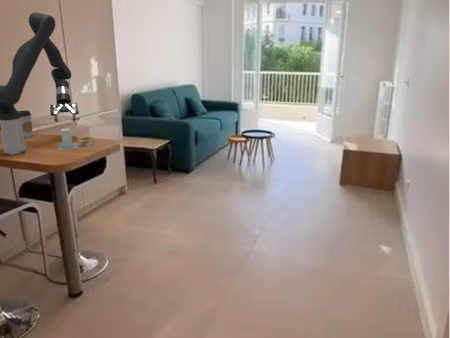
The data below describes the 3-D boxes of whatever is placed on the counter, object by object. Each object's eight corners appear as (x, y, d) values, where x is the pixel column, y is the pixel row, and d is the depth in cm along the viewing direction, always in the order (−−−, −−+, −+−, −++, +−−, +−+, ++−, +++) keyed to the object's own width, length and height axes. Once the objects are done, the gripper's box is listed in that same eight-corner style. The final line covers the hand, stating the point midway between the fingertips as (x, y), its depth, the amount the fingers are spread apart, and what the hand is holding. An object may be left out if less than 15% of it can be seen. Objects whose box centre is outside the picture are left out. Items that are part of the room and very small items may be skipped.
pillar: (63, 147, 193) (60, 130, 191) (63, 145, 197) (61, 129, 195) (72, 146, 195) (70, 130, 192) (72, 144, 199) (70, 128, 196)
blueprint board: (58, 151, 190) (58, 149, 189) (59, 145, 200) (59, 144, 200) (95, 148, 195) (95, 146, 195) (94, 142, 206) (94, 141, 206)
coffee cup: (29, 134, 227) (25, 110, 222) (37, 136, 223) (33, 111, 218) (16, 137, 220) (11, 112, 215) (24, 138, 216) (19, 113, 211)
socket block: (78, 147, 194) (77, 141, 193) (78, 143, 201) (77, 138, 200) (93, 145, 197) (93, 139, 196) (93, 142, 204) (92, 136, 203)
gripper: (48, 93, 201) (50, 117, 195) (76, 91, 206) (78, 115, 200) (50, 101, 208) (52, 125, 201) (77, 100, 213) (80, 123, 206)
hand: (65, 120), depth 200 cm, fingers open, 8 cm apart
